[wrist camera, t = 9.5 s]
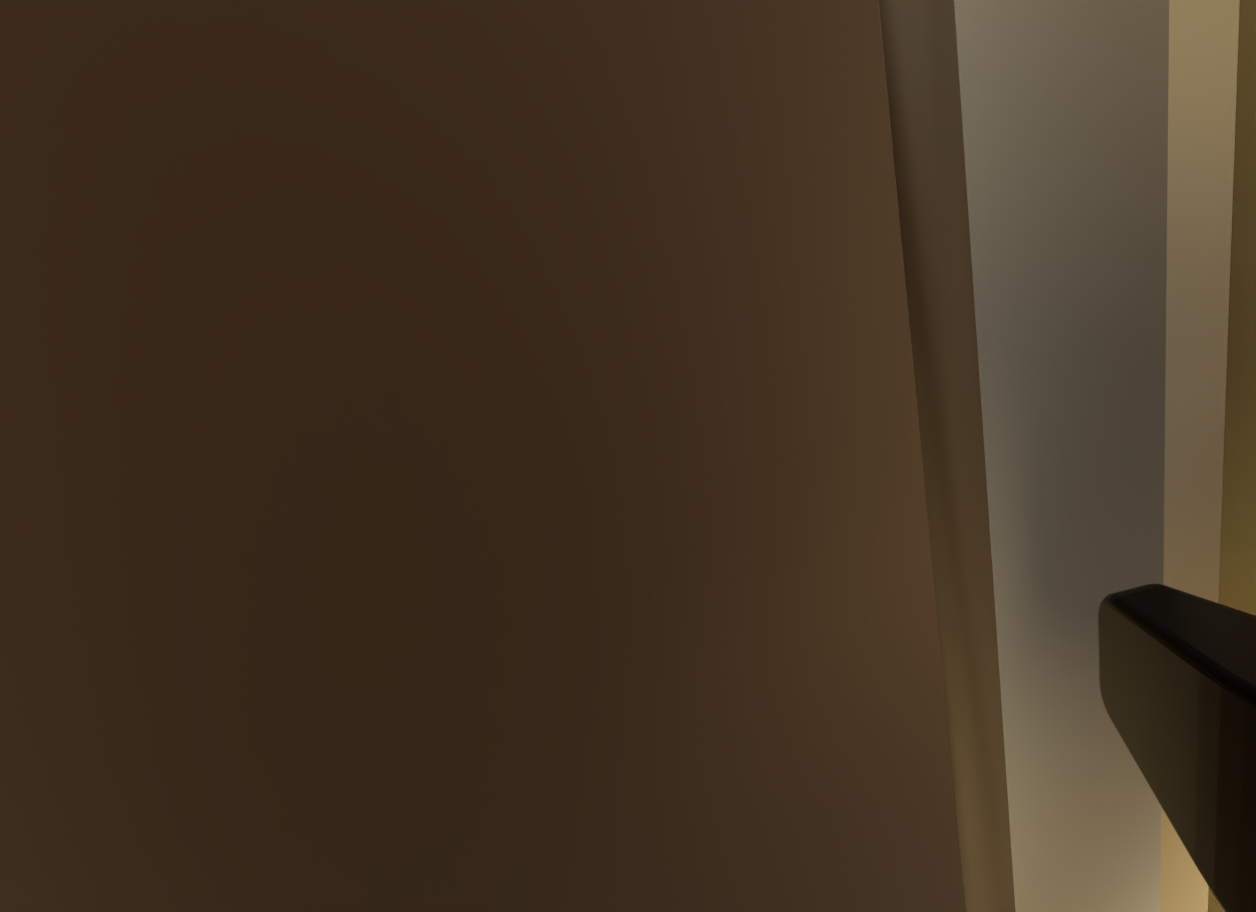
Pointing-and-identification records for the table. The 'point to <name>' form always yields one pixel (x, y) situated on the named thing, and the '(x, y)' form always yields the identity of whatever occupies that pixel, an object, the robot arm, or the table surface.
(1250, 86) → the table surface
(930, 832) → the brown slab
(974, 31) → the tray
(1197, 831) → the robot arm
